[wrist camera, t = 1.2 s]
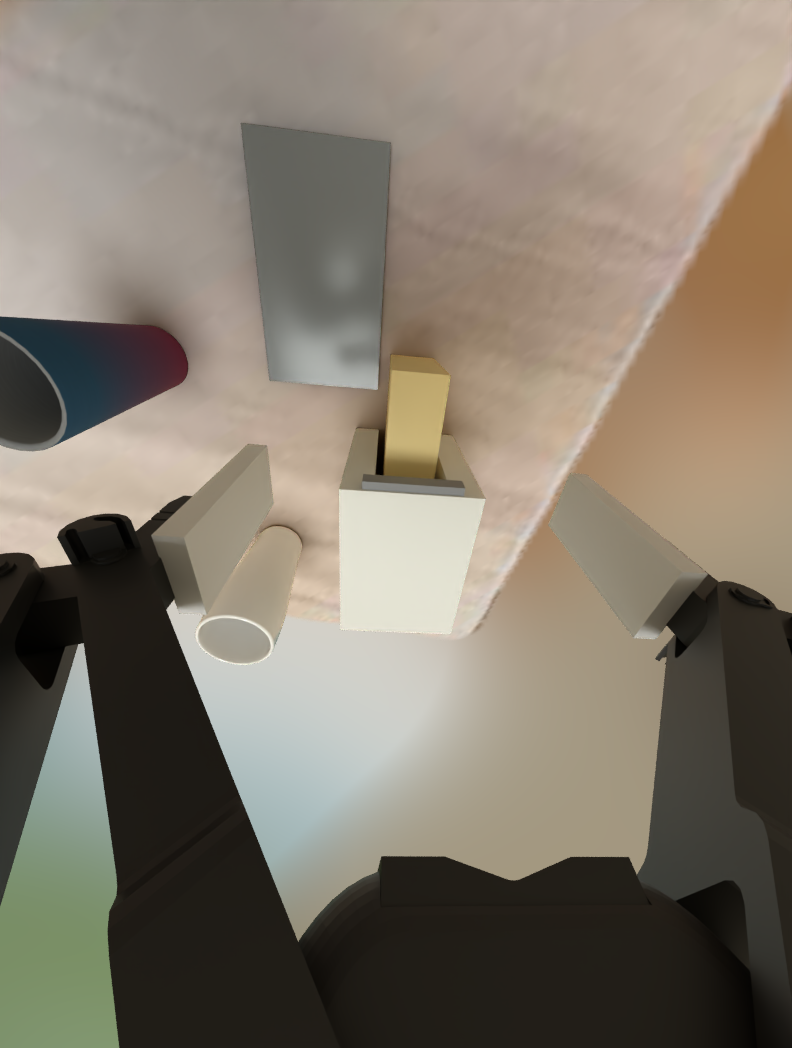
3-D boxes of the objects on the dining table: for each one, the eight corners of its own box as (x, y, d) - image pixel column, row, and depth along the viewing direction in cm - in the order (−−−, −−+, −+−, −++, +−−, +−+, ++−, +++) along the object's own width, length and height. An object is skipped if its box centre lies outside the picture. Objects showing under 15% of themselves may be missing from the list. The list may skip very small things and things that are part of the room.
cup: (102, 313, 28) (-129, 314, 16) (182, 312, 28) (17, 311, 16) (137, 397, 32) (-27, 453, 19) (208, 396, 32) (90, 450, 19)
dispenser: (356, 422, 34) (339, 481, 22) (453, 429, 34) (487, 491, 22) (353, 539, 41) (340, 629, 30) (433, 544, 42) (450, 634, 30)
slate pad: (245, 128, 23) (240, 122, 22) (390, 147, 23) (390, 142, 23) (272, 379, 31) (269, 380, 31) (377, 388, 32) (377, 389, 31)
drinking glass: (295, 513, 39) (251, 608, 27) (317, 556, 43) (287, 659, 30) (243, 525, 40) (176, 624, 27) (268, 567, 44) (219, 671, 31)
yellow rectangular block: (390, 354, 30) (391, 370, 22) (433, 358, 31) (450, 375, 22) (381, 490, 38) (379, 541, 29) (415, 492, 38) (423, 543, 30)
